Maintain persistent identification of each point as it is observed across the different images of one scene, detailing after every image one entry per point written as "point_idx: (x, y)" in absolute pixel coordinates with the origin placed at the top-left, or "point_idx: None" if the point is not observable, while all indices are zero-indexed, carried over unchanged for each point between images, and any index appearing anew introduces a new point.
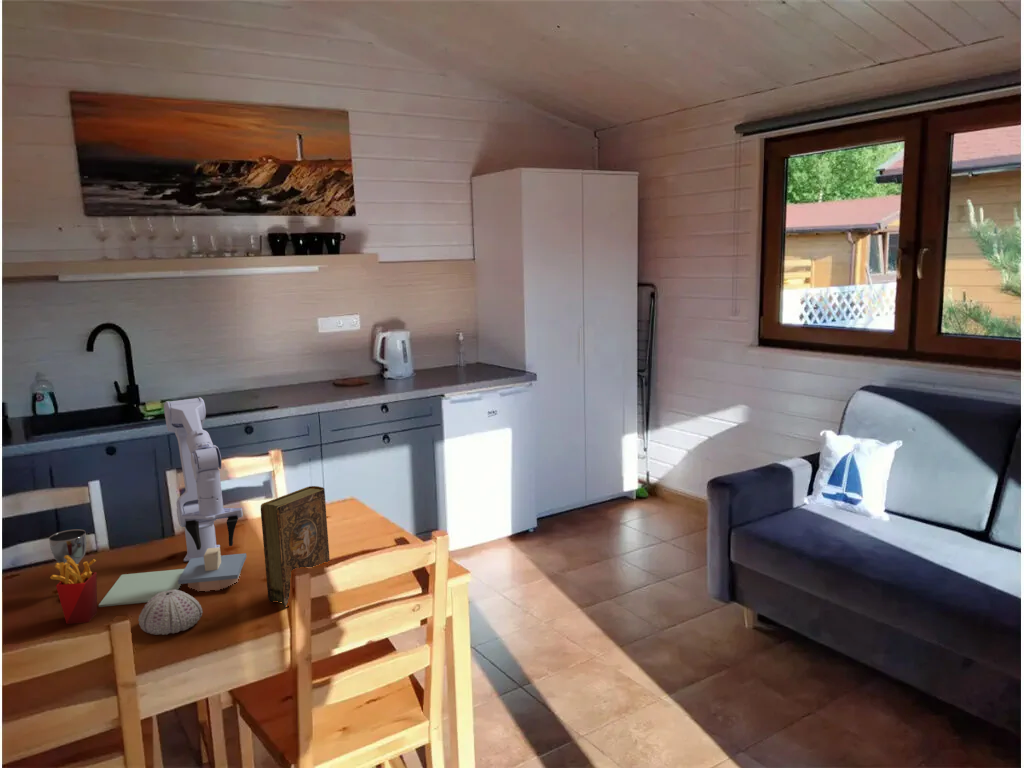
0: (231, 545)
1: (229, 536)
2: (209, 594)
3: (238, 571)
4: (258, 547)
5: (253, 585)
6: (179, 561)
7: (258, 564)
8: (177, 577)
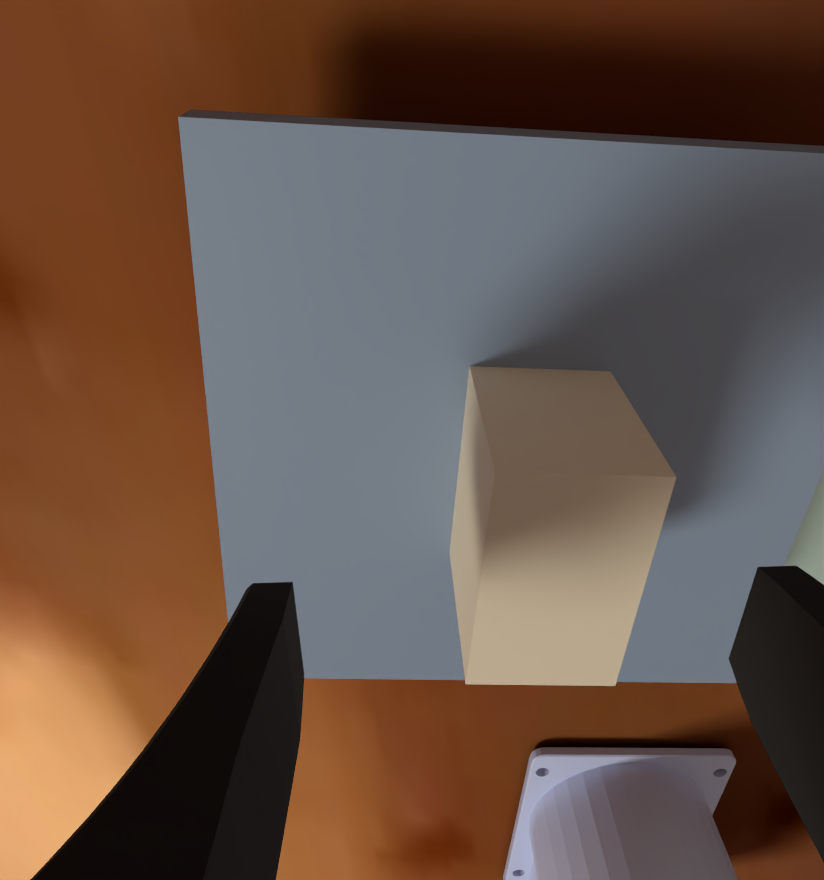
0: (251, 587)
1: (230, 718)
2: (534, 60)
3: (192, 233)
4: None
5: (85, 171)
6: (756, 758)
7: (176, 608)
8: (811, 510)
